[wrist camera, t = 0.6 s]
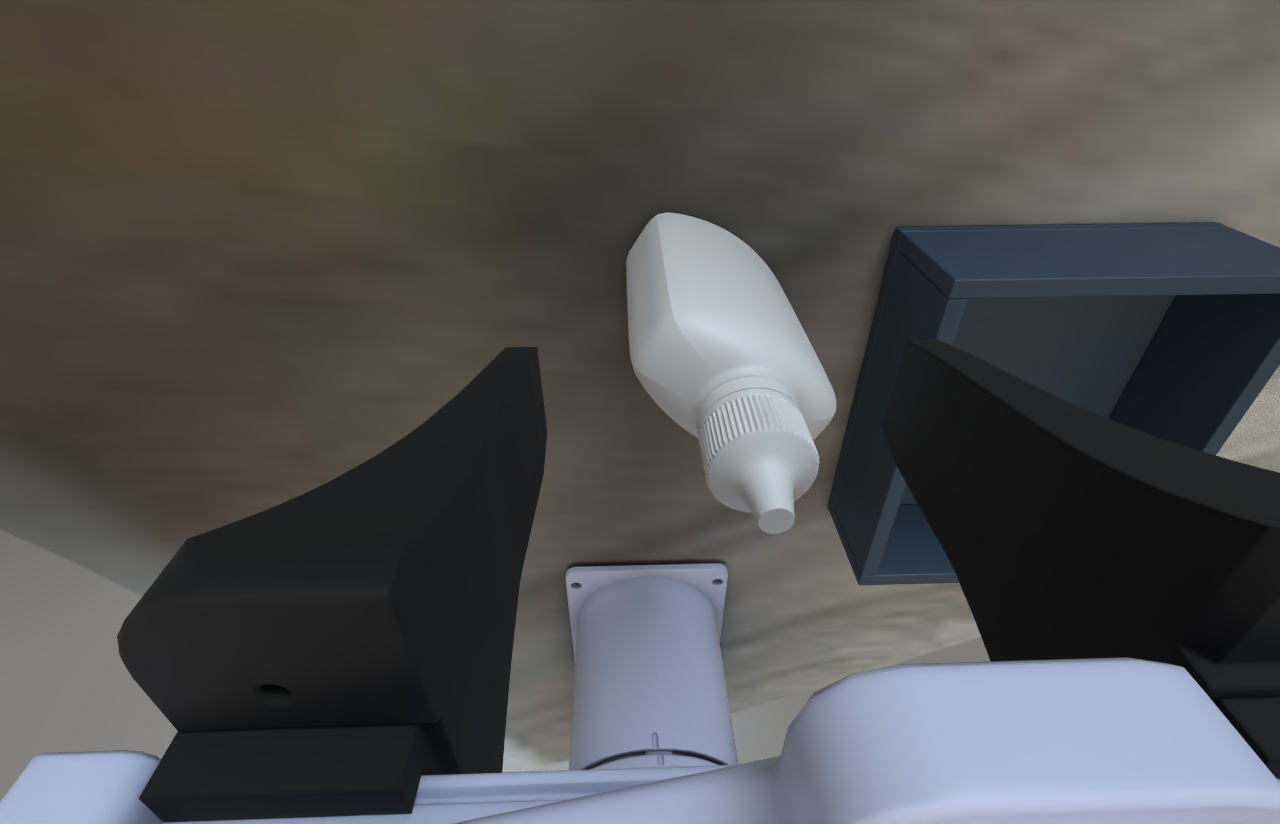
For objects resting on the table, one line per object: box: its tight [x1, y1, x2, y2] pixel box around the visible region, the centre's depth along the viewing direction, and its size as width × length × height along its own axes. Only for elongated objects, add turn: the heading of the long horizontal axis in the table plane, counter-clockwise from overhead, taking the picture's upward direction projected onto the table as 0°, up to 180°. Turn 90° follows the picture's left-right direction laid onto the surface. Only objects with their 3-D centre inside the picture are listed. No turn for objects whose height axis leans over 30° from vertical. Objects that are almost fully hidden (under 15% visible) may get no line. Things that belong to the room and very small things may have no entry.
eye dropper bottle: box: [626, 212, 836, 534], centre depth 17 cm, size 4×6×12 cm
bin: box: [828, 223, 1280, 585], centre depth 23 cm, size 13×11×4 cm
